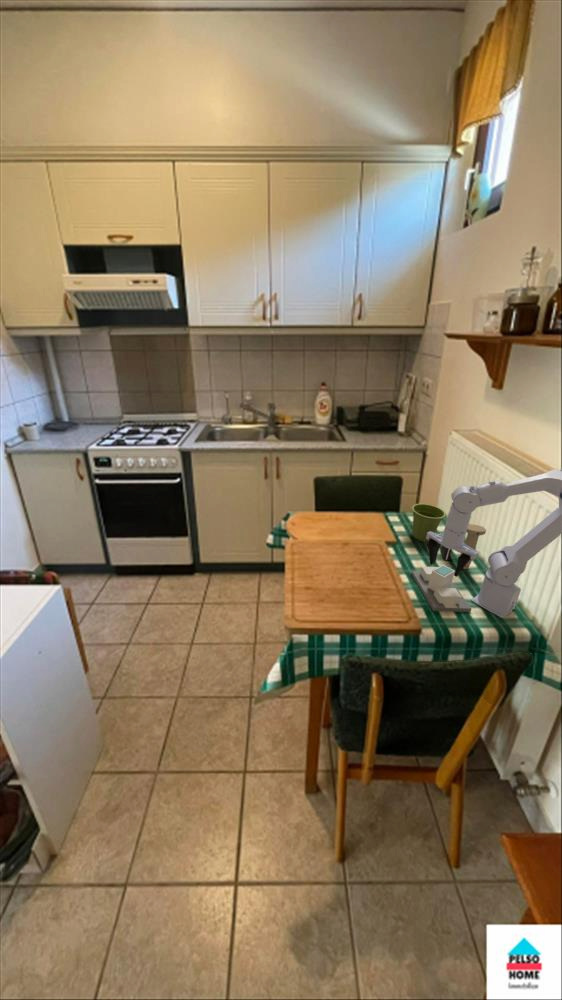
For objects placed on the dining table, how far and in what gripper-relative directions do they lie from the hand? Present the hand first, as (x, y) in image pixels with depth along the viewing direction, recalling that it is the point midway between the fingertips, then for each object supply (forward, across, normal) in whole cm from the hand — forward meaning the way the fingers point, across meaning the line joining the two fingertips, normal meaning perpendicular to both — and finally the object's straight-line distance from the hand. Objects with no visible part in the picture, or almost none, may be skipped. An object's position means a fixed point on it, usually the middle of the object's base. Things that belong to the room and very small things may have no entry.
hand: (444, 569), depth 124 cm
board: (+8, 0, 0) cm, 8 cm away
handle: (+8, +1, -20) cm, 22 cm away
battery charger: (+8, +8, -23) cm, 26 cm away
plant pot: (+8, +21, -28) cm, 36 cm away
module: (+7, 0, 0) cm, 7 cm away
